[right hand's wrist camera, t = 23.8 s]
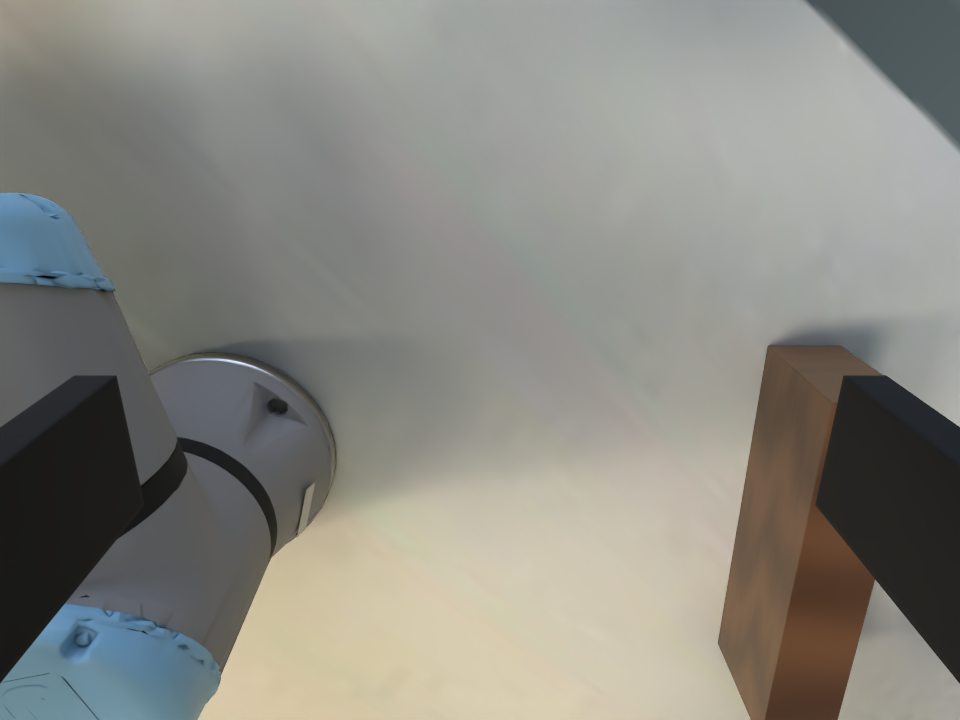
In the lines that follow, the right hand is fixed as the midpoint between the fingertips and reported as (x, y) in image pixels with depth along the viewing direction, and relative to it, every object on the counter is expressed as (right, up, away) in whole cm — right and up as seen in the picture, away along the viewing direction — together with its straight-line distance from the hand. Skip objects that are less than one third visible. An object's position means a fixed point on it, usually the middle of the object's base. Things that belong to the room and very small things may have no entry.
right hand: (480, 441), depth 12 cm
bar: (+22, -10, +38) cm, 45 cm away
